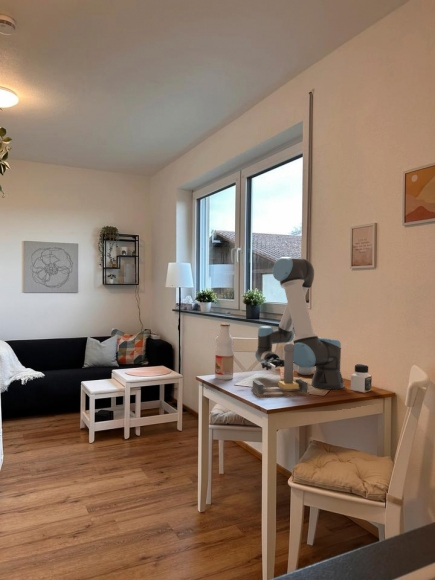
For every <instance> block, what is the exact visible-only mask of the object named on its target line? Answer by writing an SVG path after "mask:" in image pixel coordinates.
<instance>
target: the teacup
mask: <svg viewBox="0 0 435 580" xmlns="http://www.w3.org/2000/svg"><path fill="white" fill-rule="evenodd" d="M315 370H316V366H315V367H310V368H302V367H299V372H297V373H298V374H299V375H302V376H307V375H308V376H309V375H312V374H314V373H315Z"/></svg>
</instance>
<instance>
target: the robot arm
mask: <svg viewBox="0 0 435 580" xmlns="http://www.w3.org/2000/svg"><path fill="white" fill-rule="evenodd" d="M272 275H273V278H274V279H275V280H276V281H278V282H279V284H280V285H279V286H280V287H281V288H282V289H283V290H284V292H285V297H286V301H287V302H286V306H285V307H284V311H283V314H282V316H281V319H280V322H279V325H278V328H277V329H273V327H272V326H269V325H268V326H267V325H261V326H259V327H258V332H257V349H256V350H255V354H254V356H255V359H256V360H257V361H258V362H259V363H260V364H261V368H262V369H265V370H266V371H269V370H270V372H273V373H276V368H278V367H280V368H284V359H282V358H280V356H279V355H278V354H276V353H275V352H273V344H274V345H275V344H276V345H277V344H286V343H292V341H293V345H294V347H295V349H294V356H293V371H295V372H297V373H298V372H299V367H302V368H310V367H315V371H314V372H313V376H312V379H311V386H313V387H314V388H318V389H323V390H340V389H343V388H344V387H345V385H344V384H345V383H344V380H343V379H344V378H343V375H342V373H341V372H342V371H341V359H342V358H341V355H342V354H341V353H342V346H341V345H342V343H341V341H340V340H338V339H331V338H325V337H319V335H317V334H315V333H314V329H313V326H312V321H311V318H310V313H309V308H308V304H307V299H306V296H307V293H308V289H311V288H312V285H313V282H314V278H315V269H314V265H313V264H312V262H311V261H310V260H309V259H306V258H300V257H299V258H298V257H290V256H284V257H283V256H282V257H280V258H278V259H277V260H275V262H274V264H273V266H272Z"/></svg>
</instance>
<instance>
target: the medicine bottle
mask: <svg viewBox="0 0 435 580" xmlns="http://www.w3.org/2000/svg"><path fill="white" fill-rule="evenodd" d="M372 378H373V377H372V375H371V374H369V365H367V364H363V363H362V364H361V363H358V364H355V365H354V373H353V374H350V390H351V391H353V392H360V393H364V394H365V393H367V392H370V391H372Z"/></svg>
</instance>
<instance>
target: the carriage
mask: <svg viewBox="0 0 435 580" xmlns="http://www.w3.org/2000/svg"><path fill="white" fill-rule="evenodd" d="M294 349H295V347H294V343H292V342H288V343H284V346H283V351H284V358H283V360H284V367H283V380H278V381H277V386H278V387H281V388H283V389H299V384H298V383H296V382H295V381H294V370H293V362H294V361H293V356H294Z"/></svg>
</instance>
